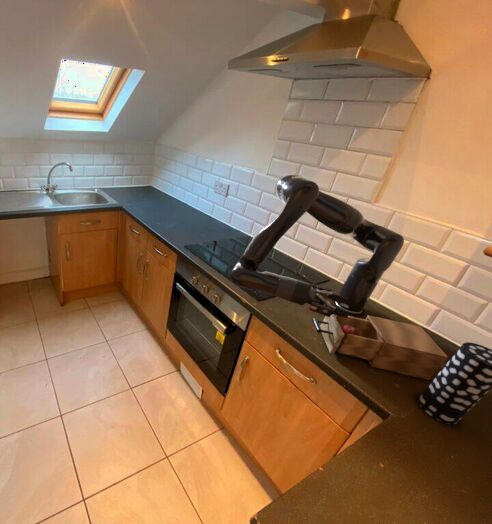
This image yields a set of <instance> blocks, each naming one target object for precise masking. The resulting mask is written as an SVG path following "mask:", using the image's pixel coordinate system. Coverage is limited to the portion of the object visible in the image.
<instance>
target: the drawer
mask: <svg viewBox="0 0 492 524" xmlns="http://www.w3.org/2000/svg"><path fill="white" fill-rule="evenodd" d="M365 319H366V318H360V317H355V316H350V315H348V317H347V318H344V317H341V316H338V315H335V314H332V315H331V316H330V317H327V316H324V318H323V320H319V319H317V318H316V317H314V318H312V323H313V325H314V327H315V330H316V332H317V334H321V335H322V337H323V340H324V342H325V344H326V346H327V349H328V351H329V354H335V353H336V351H337V353H339V354H342V355H347V356H351V357H355V358H360V359H364V360H366V361H368V360H372V361H373V360H374V358H375V356H376V355H377V353H378V352H379V350H380V349H381V347H382V346H383V344H384V342H383V341H382V339H381V338H380V336H379V335H378V333H377V332H376V330H375V329H374V327H373V326H372V324H371V323H370V321H369V320H365ZM342 326H353V327H355V328H356V329H357V330H358V331H359V333H360V336H357V335H352V334H348V333H347V335H346V337H345V339H344V340H343V342H341V341H342V339H343V337H344V333H343V331H342V329H341V327H342Z"/></svg>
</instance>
